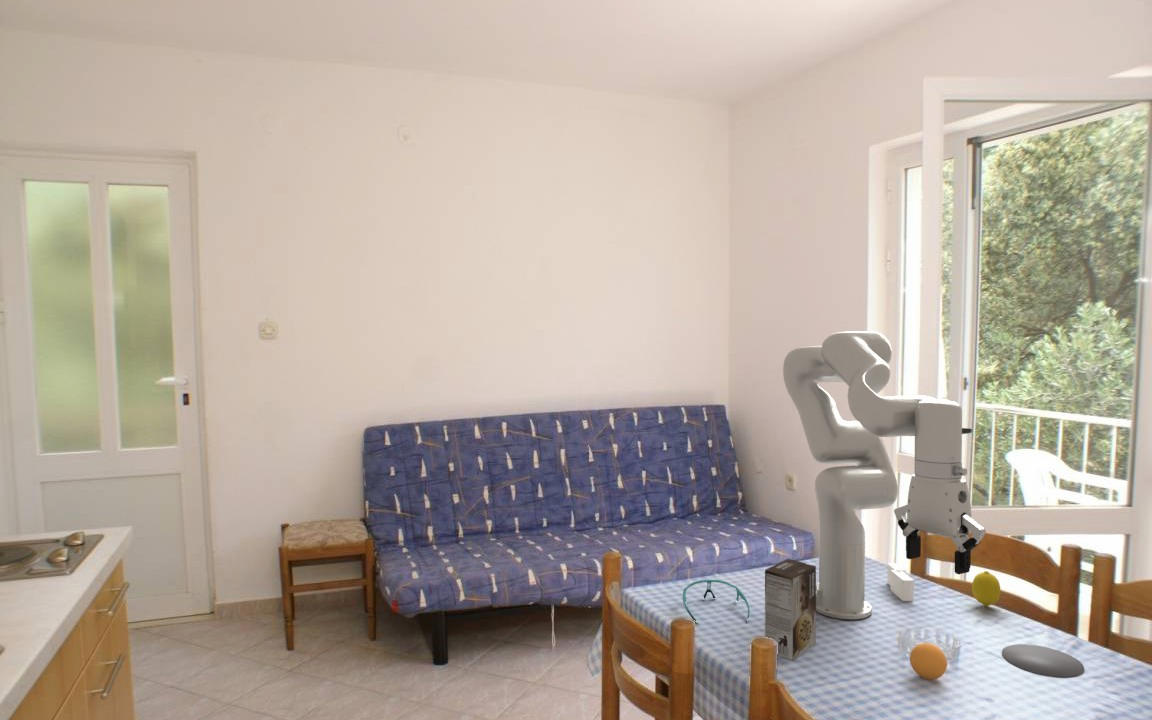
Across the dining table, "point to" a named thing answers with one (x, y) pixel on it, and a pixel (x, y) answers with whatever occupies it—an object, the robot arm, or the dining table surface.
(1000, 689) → the dining table surface
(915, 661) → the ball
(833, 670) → the dining table surface
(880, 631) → the dining table surface
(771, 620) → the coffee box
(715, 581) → the safety glasses
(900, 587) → the napkin holder
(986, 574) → the lemon
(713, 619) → the dining table surface
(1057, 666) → the gray round disc
